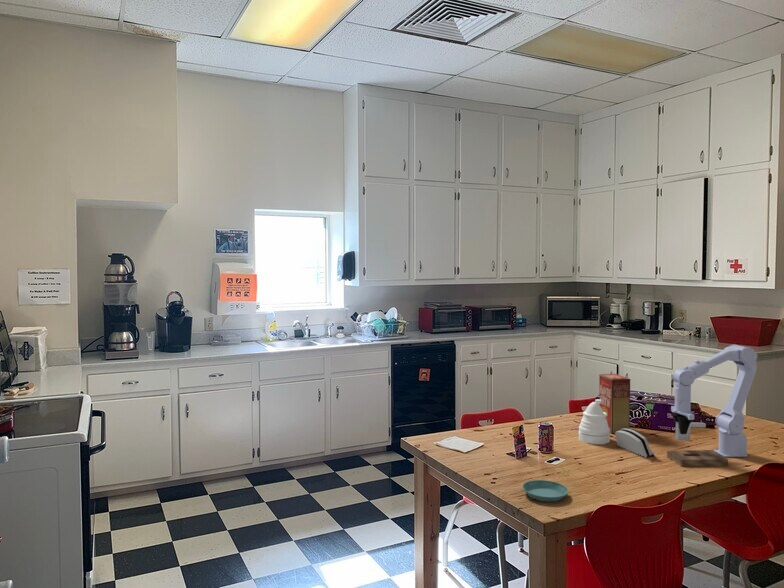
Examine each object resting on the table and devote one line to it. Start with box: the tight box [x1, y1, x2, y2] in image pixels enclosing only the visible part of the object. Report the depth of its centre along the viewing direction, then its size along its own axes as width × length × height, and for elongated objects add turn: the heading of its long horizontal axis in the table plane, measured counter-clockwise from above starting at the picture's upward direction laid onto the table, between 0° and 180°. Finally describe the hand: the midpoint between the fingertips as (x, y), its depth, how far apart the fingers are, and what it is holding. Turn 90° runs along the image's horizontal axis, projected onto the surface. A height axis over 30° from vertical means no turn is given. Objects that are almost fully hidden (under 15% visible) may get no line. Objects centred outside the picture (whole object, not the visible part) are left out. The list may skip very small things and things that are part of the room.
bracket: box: [674, 421, 707, 442], centre depth 235 cm, size 11×2×7 cm, turn 91°
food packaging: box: [598, 373, 631, 435], centre depth 271 cm, size 13×9×25 cm
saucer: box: [521, 479, 569, 503], centre depth 195 cm, size 15×15×3 cm
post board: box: [666, 449, 729, 467], centre depth 228 cm, size 18×11×2 cm, turn 92°
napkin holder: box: [614, 428, 655, 458], centre depth 240 cm, size 17×5×10 cm, turn 17°
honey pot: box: [578, 398, 611, 445], centre depth 255 cm, size 13×13×18 cm
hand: (681, 433), depth 235 cm, fingers closed on bracket, 2 cm apart
